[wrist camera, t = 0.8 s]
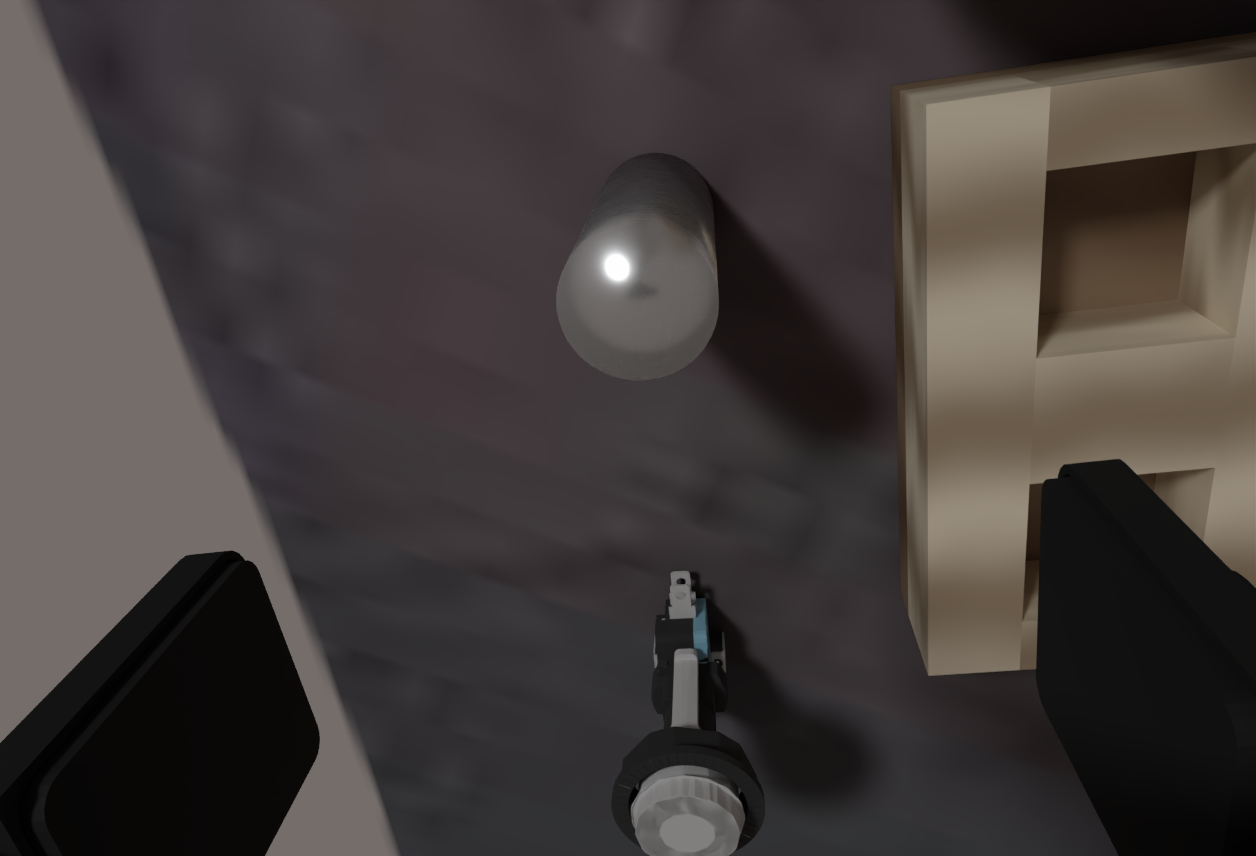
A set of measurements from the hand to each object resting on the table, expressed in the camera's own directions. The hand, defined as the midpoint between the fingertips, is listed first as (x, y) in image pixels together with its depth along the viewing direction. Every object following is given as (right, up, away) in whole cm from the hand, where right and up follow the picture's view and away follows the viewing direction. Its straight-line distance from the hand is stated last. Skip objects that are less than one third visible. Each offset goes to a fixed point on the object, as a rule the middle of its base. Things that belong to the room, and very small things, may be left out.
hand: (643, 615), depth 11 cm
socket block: (+16, +5, +21) cm, 27 cm away
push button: (+2, -6, +28) cm, 29 cm away
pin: (+1, +10, +20) cm, 22 cm away
